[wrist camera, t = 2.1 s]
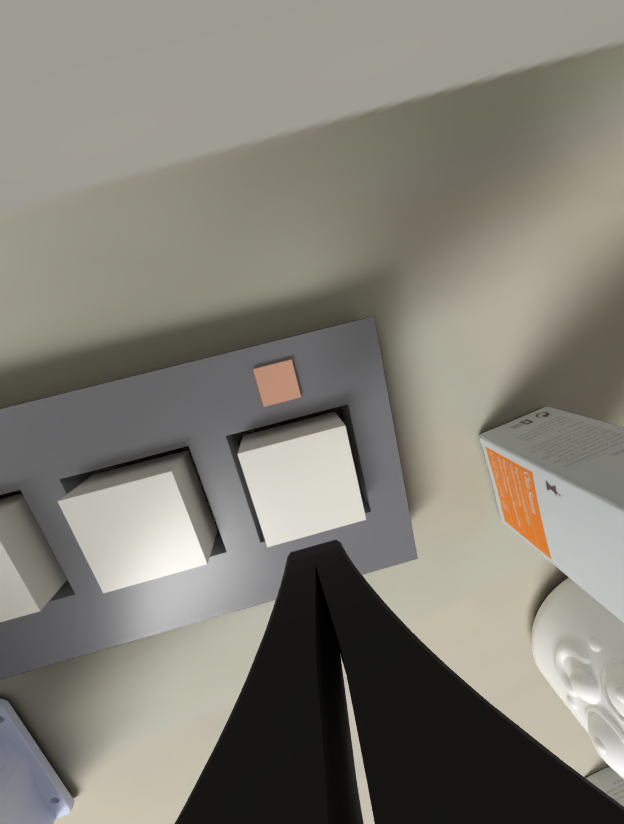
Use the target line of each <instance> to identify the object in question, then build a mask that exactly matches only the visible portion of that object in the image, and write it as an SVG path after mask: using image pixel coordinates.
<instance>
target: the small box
mask: <svg viewBox="0 0 624 824" xmlns="http://www.w3.org/2000/svg"><path fill="white" fill-rule="evenodd" d="M586 779H587V780H589V781H590V782H591V783H593V784H594V785H595V786H597V787H598V788H599V789H601V790H602V791H603V792H605V793H606V794H607V795H609V796H610V797H611V798H613V799H614V800H615V801H617V802H618V803H619V804H621V805H622V806H624V780H623V779H622V778H621V777H620V776H619V775H618V773H617V772H616V771H614V770H613V769H612V768H611V767H610V766H609V767H607V768H604V769H602V770H600V771H598V772H596V773H594V774H592V775H590V776H588V777H587V778H586Z"/></svg>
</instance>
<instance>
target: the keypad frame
mask: <svg viewBox="0 0 624 824" xmlns="http://www.w3.org/2000/svg"><path fill="white" fill-rule="evenodd" d="M339 406H341V409H342V413H343V418H344V422H345V426H346V431H347V435H348V440H349V444H350V449H351V453H352V458H353V462H354V467H355V471H356V476H357V480H358V485H359V489H360V494H361V498H362V503H363V507H364V512H365V516H366V520H363V521H360V522H356V523H353V524H349V525H346V526H342V527H339V528H335V529H331V530H328V531H324V532H321V533H317V534H314V535H310V536H306V537H303V538H299V539H296V540H292V541H289V542H285V543H282V544H278V545H274V546H271V547H267V545H266V542H265V539H264V535H263V532H262V529H261V526H260V523H259V520H258V517H257V514H256V511H255V507H254V504H253V501H252V498H251V495H250V492H249V489H248V486H247V483H246V479H245V476H244V473H243V470H242V467H241V464H240V461H239V458H238V455H237V453H238V450H239V447H240V444H239V441H238V438H237V435H236V433H239V432H243V431H247V430H251V429H255V428H259V427H262V426H266V425H270V424H274V423H278V422H282V421H285V420H289V419H293V418H297V417H301V416H305V415H308V414H312V413H316V412H320V411H324V410H328V409H331V408H335V407H339ZM186 446H189V449H190V451H191V454H192V457H193V460H194V463H195V465H196V468H197V471H198V474H199V476H200V479H201V482H202V485H203V487H204V490H205V493H206V496H207V498H208V501H209V504H210V507H211V510H212V512H213V515H214V518H215V521H216V523H217V526H218V529H217V530H218V531H217V534H216V538H215V541H214V544H213V548H212V551H211V554H210V558H209V561H208V564H207V565H203V566H200V567H196V568H192V569H189V570H185V571H182V572H178V573H175V574H171V575H168V576H164V577H160V578H157V579H153V580H150V581H146V582H143V583H139V584H135V585H132V586H128V587H125V588H121V589H118V590H114V591H111V592H107V593H103V592H102V590H101V588H100V586H99V584H98V582H97V580H96V578H95V576H94V574H93V572H92V570H91V568H90V566H89V564H88V562H87V560H86V558H85V556H84V554H83V552H82V550H81V548H80V546H79V544H78V542H77V540H76V538H75V536H74V534H73V532H72V530H71V528H70V526H69V524H68V522H67V520H66V518H65V516H64V514H63V512H62V510H61V508H60V506H59V504H58V502H57V501H59V500H60V499H61V498H63V497H64V496H65V495H67V494H68V493H69V492H71V491H72V490H73V489H75V488H76V487H77V486H79V485H80V484H81V483H83V482H84V481H85V480H87V479H88V478H89V477H91V476H92V475H94V474H96V472H95V470H98V469H102V468H105V467H109V466H113V465H117V464H121V463H125V462H128V461H132V460H136V459H140V458H144V457H148V456H151V455H155V454H159V453H163V452H167V451H171V450H174V449H178V448H182V447H186ZM17 490H21V492H22V494H23V496H24V498H25V500H26V502H27V504H28V505H29V507H30V509H31V511H32V513H33V515H34V517H35V519H36V521H37V522H38V524H39V526H40V528H41V530H42V532H43V534H44V536H45V538H46V540H47V541H48V543H49V545H50V547H51V549H52V551H53V553H54V555H55V557H56V558H57V560H58V562H59V564H60V566H61V568H62V570H63V572H64V574H65V576H66V577H67V579H68V580H67V581H66V582H65V583H64V584H63V585H62V587H61V588H60V589H59V590H58V591H57V592H56V594H55V595H54V596H53V597H52V598H51V599H50V600H49V602H48V603H47V604H46V605H45V606H44V607H43V609H42V610H41V611H39V612H36V613H32V614H29V615H25V616H21V617H18V618H14V619H11V620H7V621H4V622H0V679H3V678H7V677H10V676H14V675H17V674H21V673H24V672H28V671H31V670H35V669H38V668H41V667H45V666H48V665H52V664H55V663H59V662H62V661H66V660H69V659H73V658H76V657H79V656H83V655H86V654H90V653H93V652H97V651H100V650H104V649H107V648H111V647H114V646H117V645H121V644H124V643H128V642H131V641H135V640H138V639H142V638H145V637H149V636H152V635H155V634H159V633H162V632H166V631H169V630H173V629H176V628H180V627H183V626H187V625H190V624H193V623H197V622H200V621H204V620H207V619H211V618H214V617H218V616H221V615H225V614H228V613H231V612H235V611H238V610H242V609H245V608H249V607H252V606H256V605H259V604H263V603H266V602H269V601H273V600H276V598H277V595H278V592H279V588H280V585H281V582H282V578H283V574H284V570H285V566H286V561H287V557H288V555H289V554H290V552H293V551H297V550H300V549H304V548H307V547H311V546H315V545H318V544H322V543H325V542H329V541H332V540H338V541H340V542H341V544H342V546H343V548H344V550H345V551H346V553H347V555H348V556H349V558H350V559H351V561H352V562H353V564H354V565H355V567H356V568H357V569H358V571H359V572H360V573H361V575H363V574H366V573H370V572H373V571H377V570H380V569H383V568H387V567H390V566H394V565H397V564H401V563H404V562H408V561H411V560H415V559H418V557H417V552H416V546H415V541H414V535H413V530H412V524H411V519H410V513H409V508H408V502H407V497H406V491H405V485H404V480H403V474H402V469H401V463H400V458H399V452H398V447H397V441H396V436H395V430H394V424H393V419H392V413H391V408H390V402H389V397H388V391H387V386H386V380H385V375H384V369H383V364H382V358H381V352H380V347H379V341H378V336H377V330H376V325H375V319H374V317H370V318H365V319H360V320H356V321H352V322H348V323H344V324H340V325H336V326H332V327H328V328H324V329H320V330H316V331H312V332H308V333H304V334H300V335H296V336H292V337H288V338H284V339H280V340H276V341H272V342H268V343H264V344H259V345H255V346H251V347H247V348H243V349H239V350H235V351H231V352H227V353H223V354H219V355H215V356H211V357H207V358H203V359H199V360H195V361H191V362H187V363H183V364H179V365H175V366H171V367H167V368H163V369H159V370H155V371H151V372H147V373H142V374H138V375H134V376H130V377H126V378H122V379H118V380H114V381H110V382H106V383H102V384H98V385H94V386H90V387H86V388H82V389H78V390H74V391H70V392H66V393H62V394H58V395H54V396H50V397H46V398H42V399H38V400H34V401H29V402H25V403H21V404H17V405H13V406H9V407H5V408H1V409H0V495H2V494H6V493H10V492H14V491H17Z"/></svg>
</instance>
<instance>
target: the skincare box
mask: <svg viewBox="0 0 624 824" xmlns="http://www.w3.org/2000/svg"><path fill="white" fill-rule="evenodd" d="M479 439H480V442H481V445H482V448H483V451H484V455H485V459H486V463H487V466H488V470H489V473H490V477H491V481H492V484H493V489H494V493H495V497H496V501H497V506H498V510H499V514H500V518H501V520H502V522H503V523H505V524H506V525H507V526H508V527H509V528H511V529H512V530H513V531H514V532H515V533H517V534H518V535H519V536H520V537H521V538H523V539H524V540H525V541H526V542H527V543H528V544H530V545H531V546H532V547H533V548H534V549H536V550H537V551H538V552H539V553H540V554H542V555H543V556H544V557H545V558H547V559H548V560H549V561H550V562H551V563H552V564H554V565H555V566H556V567H557V568H558V569H560V570H561V571H562V572H563V573H564V574H566V575H567V576H568V577H569V578H570V579H571V580H573V581H574V582H575V583H576V584H577V585H579V586H580V587H581V588H582V589H583V590H585V591H586V592H587V593H588V594H589V595H591V596H592V597H593V598H594V599H595V600H597V601H598V602H599V603H600V604H601V605H602V606H604V607H605V608H606V609H607V610H609V611H610V612H611V613H612V614H613V615H615V616H616V617H617V618H618V619H619V620H621V621H622V622H623V623H624V427H622V426H618V425H614V424H611V423H607V422H603V421H600V420H596V419H592V418H588V417H585V416H581V415H578V414H574V413H570V412H566V411H563V410H559V409H555V408H552V407H544V408H542V409H539V410H537V411H534V412H532V413H529V414H527V415H525V416H522V417H520V418H518V419H515V420H513V421H511V422H508V423H506V424H504V425H501V426H499V427H496V428H494V429H491V430H489V431H486V432H484V433H482V434H480V435H479Z"/></svg>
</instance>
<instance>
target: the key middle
mask: <svg viewBox="0 0 624 824" xmlns="http://www.w3.org/2000/svg"><path fill="white" fill-rule="evenodd" d="M57 502H58V504H59V506H60V508H61V510H62V512H63V514H64V516H65V518H66V520H67V522H68V524H69V526H70V528H71V530H72V532H73V534H74V536H75V538H76V540H77V542H78V544H79V546H80V548H81V550H82V552H83V554H84V556H85V558H86V560H87V562H88V564H89V566H90V568H91V570H92V572H93V574H94V576H95V578H96V580H97V582H98V584H99V586H100V588H101V590H102V592H103V593H107V592H111V591H114V590H118V589H121V588H125V587H128V586H132V585H135V584H139V583H143V582H146V581H150V580H153V579H157V578H160V577H164V576H168V575H171V574H175V573H178V572H182V571H185V570H189V569H192V568H196V567H200V566H203V565H207V564H208V561H209V558H210V554H211V551H212V548H213V544H214V541H215V538H216V534H217V531H218V530H217V527H216V525H215V522H214V519H213V516H212V514H211V511H210V508H209V505H208V503H207V500H206V497H205V494H204V492H203V489H202V486H201V483H200V481H199V478H198V475H197V472H196V470H195V467H194V464H193V461H192V458H191V456H190V453H189V450H186V451H182V452H178V453H174V454H171V455H167V456H163V457H159V458H155V459H151V460H148V461H144V462H140V463H136V464H132V465H128V466H125V467H121V468H117V469H113V470H109V471H106V472H102V473H98V474H94V475H92V476H91V477H89V478H88V479H87V480H85V481H84V482H83V483H81V484H80V485H79V486H77V487H76V488H75V489H73V490H72V491H71V492H69V493H68V494H67V495H65V496H64V497H63V498H61V499H60V500H59V501H57Z"/></svg>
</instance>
